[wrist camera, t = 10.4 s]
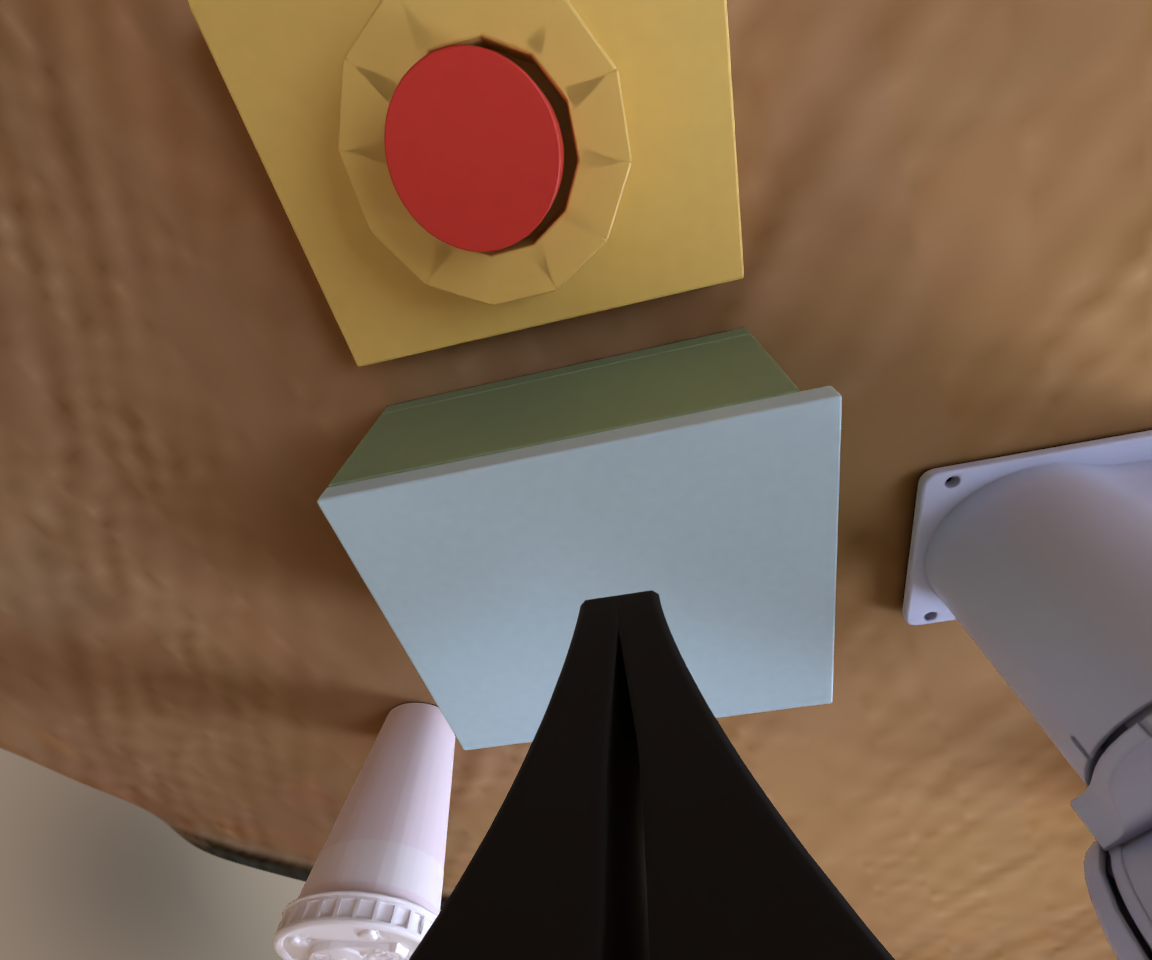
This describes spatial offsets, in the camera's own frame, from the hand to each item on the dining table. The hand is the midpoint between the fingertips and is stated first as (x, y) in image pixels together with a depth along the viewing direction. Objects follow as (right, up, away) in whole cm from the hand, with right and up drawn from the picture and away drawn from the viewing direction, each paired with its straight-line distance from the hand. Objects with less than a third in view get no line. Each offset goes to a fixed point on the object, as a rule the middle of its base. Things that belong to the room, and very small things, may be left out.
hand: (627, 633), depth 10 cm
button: (-3, +10, +3) cm, 11 cm away
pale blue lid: (0, -1, +7) cm, 7 cm away
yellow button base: (-3, +12, +5) cm, 13 cm away
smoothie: (-9, -10, +19) cm, 23 cm away
